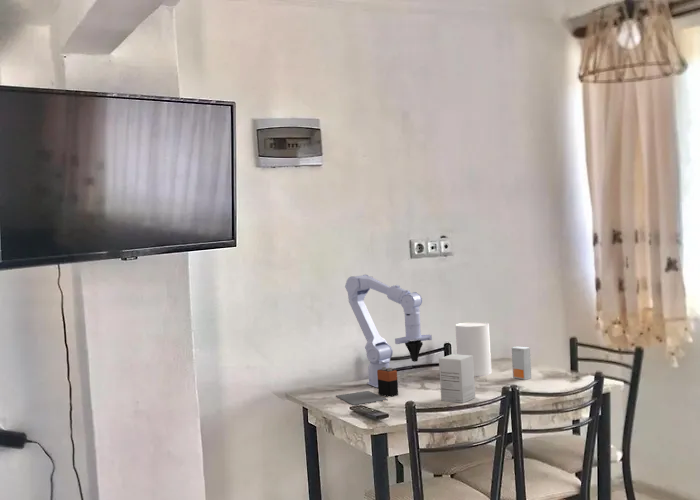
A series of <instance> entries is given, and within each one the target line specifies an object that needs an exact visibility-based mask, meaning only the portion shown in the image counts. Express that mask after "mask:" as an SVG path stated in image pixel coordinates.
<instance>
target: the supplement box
mask: <svg viewBox="0 0 700 500" xmlns="http://www.w3.org/2000/svg"><path fill="white" fill-rule="evenodd" d="M438 367H439V382H440V383H439V384H440V399H441V400H440V401H441V402H452V403H458V404H459V403H461V404H464V403H466V402H468V401H471V400H473V399H475V398H476V386H475V385H476V384H475V376H474V367H473V356H472V355H458V354H457V353H455V354H454V353H452V354H451V353H450V354H449V355H446V356H443V357H439V358H438Z"/></svg>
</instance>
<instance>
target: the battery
mask: <svg viewBox="0 0 700 500" xmlns="http://www.w3.org/2000/svg"><path fill="white" fill-rule="evenodd" d="M377 376H378V388H377V389H378V390H377V391H378V395H379V394H381V395H380V396H384V395H385V397H388V396H391V397H395V396H394V395H396V396H398V395H399V383H398V382H399V381H398V371H397V370H396V369H393V367H390V368H387V369H386V367H382V369H380V370H377Z"/></svg>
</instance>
